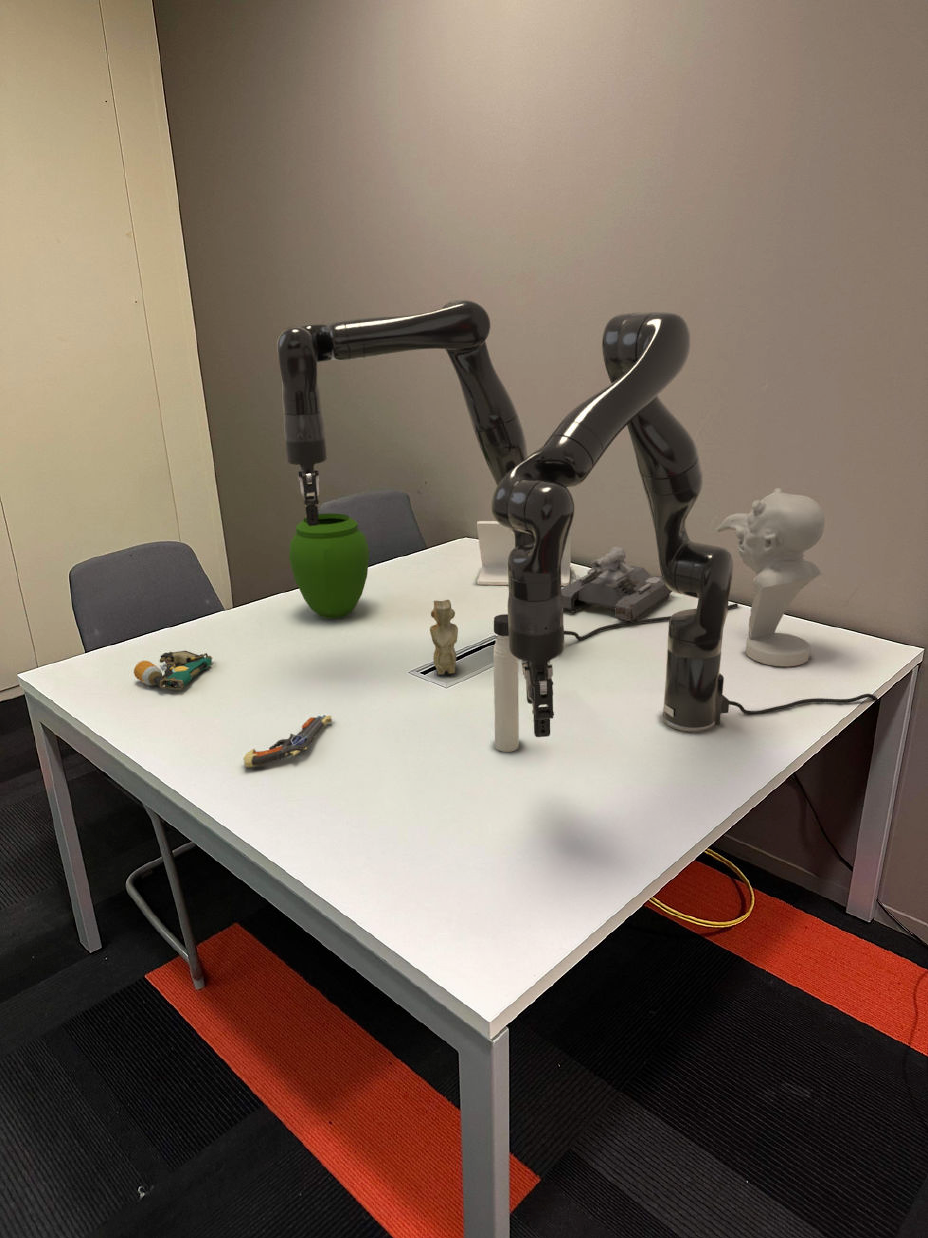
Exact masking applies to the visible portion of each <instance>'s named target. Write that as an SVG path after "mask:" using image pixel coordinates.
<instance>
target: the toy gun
mask: <svg viewBox="0 0 928 1238" xmlns="http://www.w3.org/2000/svg"><path fill="white" fill-rule="evenodd" d="M332 720H333V717H332V716H331V715H325V714H324V715H322V716H321V715H318V716H315V717H313V716H311V717H309V718H308V719H307V720H306V721H305V722H304V723H303V724H302V725H301V731H299V732H298V733H297V734H294V733H290V735H289V737H288V738H281V739H279V740H278V741H276V742H275V743H274V744H272V745H271V746H270V747H268V749H267V750H261V751H256V749H255V748H253V749H250V750H249V751H248V752H247V753H245V755H244V756H243V762H244V768H249V769H250V768H254V767H257V766H260V765H265V764H269V763H271V762H274V761H278V760H281V759H285V758H288V757H290V756H292V757H294V756H296V755H298V754H300V753H301V752H304V751H305V750H307V749H308V748H309V747H310V746H311V744H312V743H313V742H314V740H315V738H316V736H317V735H318V734H319V733H320V731H322V730H323V728H324V727H326V725H327V724H329V723H332Z"/></svg>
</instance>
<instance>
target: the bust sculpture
mask: <svg viewBox="0 0 928 1238" xmlns="http://www.w3.org/2000/svg"><path fill="white" fill-rule="evenodd" d="M825 522H826V521H825V513H824V511H823V509H822V508H821V506H820V505H819V504H818V502H816V500H814V499H812V498H811V497H809V496H806V495H802V494H791V493H786V492H784V491H783V489H782V488H780V487H777V488H775V489H774V490H773V492H772V493H770V494H768V495H767V496H765V497H763V498H762V499H761V500H759V499H757V500H754V501H753V502H752V504H751V510H750V512H749V513H743V512H739V513H734V514H730V515H729V516H727V517H726V518H725V519H724V520H723V521H722V522H721V524H719V525H718V526H717V527H716V529H715V530H716V532H718V533H721V532H725V531H729V530H733V531H735V535H736V538H737V539H738V540H739V541H738V542H737V544H736V547H737V550H738V553H739V557H740V558H741V559H742V562H743V563H744V565H746V566H747V567H748V568H750V570H752V572H753V573H755V575H756V576H755V577H754V578H753V580H752V586H753V590H754V592H755V594H756V595H755V597H754V599H753V601H752V605H751V607H750V614H749V618H748V637H747V639H746V646H745V654H746V656H747V657H749V658H750V659H751V660H753V661H755V662H758V663H761V664H764V665H769V666H774V667H795V666H800V665H803V664H805V663H806V662H808V661H809V659H810V650H811V645H810V643H809V642H808V641H807V640H806V639H803V638H802V637H800V636H796V635H793V634H789V633H785V632H784V633H783V632H776V630H777V628H778V626H779V623H780V622H781V620H782V618H783V616H784V615H785V613H786V611H788V608H789V607H790V605H791V604H792V603H793V601H794V600H795V598H796V597H797V596H798V594H799V593H800V592H801V591H802V589H804V588H805V587H806V586H807V585H808V584H809V583H811V582H812V581H814V580H815V579H816V578H818V577H820V576H822V575H823V572H822V570H821V569H820V568H819V567H818V565H816V563H814V562H812V561H809V560H805V559H804V557H805V554H804V553H805V552H806V551H808V550H810V549H812V548H813V547H815V546H816V545H817V544H818V543H819V542H820V540H821V539H822V536H823V534H824V531H825Z"/></svg>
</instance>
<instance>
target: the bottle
mask: <svg viewBox="0 0 928 1238" xmlns="http://www.w3.org/2000/svg"><path fill="white" fill-rule="evenodd" d="M493 689H494V690H493V695H494V696H493V698H494V699H493V702H494V703H493V704H494V705H493V706H494V707H493V708H494V747H495V749H496V750H498V751H499V752H503V753H504V752H505V753H509V752H510V753H511V752H514V751H517V750H518V749H519V746H520V734H519V733H520V731H519V730H520V728H519V727H520V726H519V721H520V718H519V716H520V715H519V714H520V713H519V710H520V709H519V708H520V707H519V659H518V658H517V657H515V656H514V655H513V654H512V653H511V651H510V649H509V636H500V635H496V640H495V643H494V647H493Z"/></svg>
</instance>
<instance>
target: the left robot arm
mask: <svg viewBox="0 0 928 1238" xmlns="http://www.w3.org/2000/svg"><path fill="white" fill-rule="evenodd" d="M490 332H491V319H490V316H489V314H488V312H487V311H486V309H485V308H484V307H483V306H482V305H481V304H479V303H478V302H476V301H473V300H470V299H454V300H451V301H449V302H447V303H445V304H444V305H443V306H442V307H441V308H438V309H435V310H431V311H428V312H423V313H416V314H408V315H395V316H393V315H392V316H391V315H390V316H372V317H361V318H354V319H353V318H352V319H344V320H339V321H334V322H330V323H321V324H319V323H318V324H307V325H306V324H305V325H293V326H289V327H287V328H285V329H283V330H282V331H281V332H280V334H279V335H278V338H277V341H276V350H277V358H278V364H279V372H280V378H281V385H282V386H281V397H282V398H281V399H282V400H281V402H282V410H283V432H284V442H285V452H286V461H287V463H288V464H290V465H295V466H296V465H297V466H300V468H301V469H300V470H297V477H298V483H299V484H300V494H301V496H302V497H303V498H304V500H303V505H304V507H305V514H306V518H307V524H308V525H309V526H315V525H318V524H319V517H318V514H319V504H320V502H319V498H318V497H319V495H320V485H319V482H320V472H319V469H315V465H316V464H322V463H325V462H326V461H327V458H328V457H327V456H328V455H327V448H326V447H327V446H326V445H327V444H326V435H325V433H326V432H325V424H324V418H323V414H322V403H321V393H320V388H319V384H318V363H321V362H328V361H352V360H359V359H367V358H375V357H380V356H386V355H392V354H397V353H398V354H399V353H403V352H409V351H410V352H411V351H418V350H419V351H420V350H445V351H446V354H447V356H448V358H449V360H450V362H451V364H452V367H453V369H454V372H455V374H456V376H457V378H458V381H459V384H460V388H461V391H462V397H463V399H464V403H465V406H466V409H467V413H468V416H469V419H470V422H471V425H472V429H473V432H474V435H475V437H476V439H477V442H478V446H479V448H480V451H481V453H482V455H483V457H484V459H485V462H486V464H487V467H488V470H489V471H490V473H491V476H492V478H493V479H494V481H495V485H496V487H497V486H498V484H499V482H500V481H501V480H502V478H503V477H504V476H505V475H506V474H507V473H508V472H509V471H511V470H512V469H513V468H514V467H516V466H517V465H518V464H519V463H521V462H522V461H523V460H525V459H526V458H527V457H528V447H527V441H526V437H525V433H524V429H523V426H522V422H521V420H520V417H519V415H518V412H517V409H516V406H515V405H514V402H513V400H512V398H511V397H510V395H509V393H508V391H507V389H506V387H505V385H504V383H503V382H502V380H501V379H500V376H499V375H498V373H497V371H496V369H495V367H494V364H493V363H492V362H493V361H492V360H491V356H490V353H489V350H488V346H487V341H486V340H487V339H488V337H489V334H490ZM508 529H509V528H508ZM509 531H510V533H511V534H512V536H513V537H514V538H515V548H516V547H518V546H520V545H524V544H530V543H535V536H534V535H533V534H529V533H525V532H521V531H517V530H513V529H509ZM736 607H739V603H731V604H730V605H729V604H728V610H730V609H733V608H736ZM671 616H672V615H668V616H661V617H653V618H643V619H638V620H635V621H633V623H632V622H625V621H622V622H618V623H612V624H608V625H603V626H601V627H598V628H595V629H594V630H592V631H590V632H588V633H587V634H585V635H583V636H580V635H579V633H577V632H576V631H571V630H564V636H574V637H575V639H576V640H577V641H584V640H586V639H589V638H590V637H592V636H594V635H596V634H597V633H600V632H602V631H606V630H609V629H614V628H615V629H616V628H620V627H625V626H632V625H637V624H645V623H646V624H647V623H654V622H661V621H669V620H670V617H671Z"/></svg>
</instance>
